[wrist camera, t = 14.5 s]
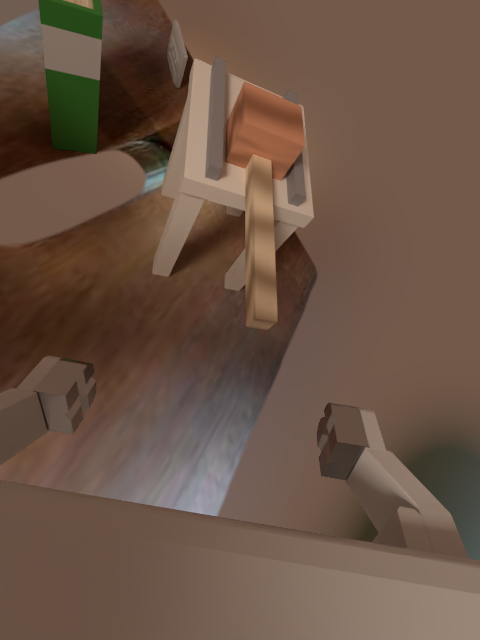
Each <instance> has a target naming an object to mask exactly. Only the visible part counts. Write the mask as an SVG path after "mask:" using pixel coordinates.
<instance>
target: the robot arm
mask: <svg viewBox="0 0 480 640" xmlns="http://www.w3.org/2000/svg"><path fill="white" fill-rule="evenodd" d="M94 372H95V371H94V366H93V364H91V363H87V362H81V361H76V360H71V359H66V358H59V357H54V356H49V355H48V356H46V357H44V358H43V359H42V360H41V361H40V362H39V363H38V364H37V366H36V367H35V368H34V369H33V370H32V371H31V372H30V373H29V375H28V376H27V377H26V378H25V379H24V380H23V381H22V382H21V383H20V385H19V386H18V387H17V388H16V389H15V388H10V389H8V390H6V391H4V392H2V393H0V465H2V464H3V463H4V462H6V461H7V460H9V459H10V458H12V457H13V456H14V455H16V454H17V453H19V452H20V451H22V450H23V449H24V448H26V447H27V446H29V445H30V444H32V443H33V442H34V441H36V440H37V439H39V438H40V437H42V436H43V435H45V434H46V433H47V432H48V431H54V432H61V433H69V434H74V433H75V431H76V429H77V428H78V426H79V424H80V423H81V421H82V419H83V414H82V412H83V411H85V410H87V409H88V408H90V406H91V404H92V403H93V401H94V398H95V394H96V387H97V386H96V381H95V380H94V379H93V378H92V375H93V373H94ZM324 412H325V417H323V418H321V419H320V422H319V425H318V430H317V445H318V447H319V448H320V450H321V451H322V452H321V454H320V456H319V463H320V471H321V476H326V477H330V478H336V479H341V480H346V482H347V484H348V486H349V487H350V489H351V490H352V492H353V493H354V495H355V497H356V498H357V500H358V501H359V503H360V504H361V506H362V507H363V509H364V510H365V512H366V514H367V515H368V517H369V518H370V519H371V521H372V523H373V524H374V526H375V527H376V529H377V530H378V532H379V534H378V535H377V537H376V538H375V539H374V540H373V542H372V543H371V542H365V541H359V540H353V539H347V538H341V537H336V536H330V535H324V534H318V533H311V532H306V531H300V530H293V529H287V528H282V527H276V526H270V525H264V524H258V523H252V522H246V521H240V520H234V519H228V518H222V517H216V516H210V515H204V514H198V513H192V512H187V511H181V510H175V509H169V508H163V507H157V506H151V505H145V504H139V503H133V502H127V501H121V500H115V499H109V498H103V497H97V496H91V495H86V494H80V493H74V492H68V491H62V490H56V489H50V488H44V487H38V486H32V485H26V484H20V483H14V482H8V481H2V480H0V640H480V561H479V560H473V559H469V558H468V555H467V553H466V551H465V548H464V546H463V543H462V541H461V538H460V536H459V534H458V531H457V528H456V526H455V524H454V521H453V519H452V516H451V514H450V513H449V512H448V511H447V510H446V509H445V508H444V507H443V506H442V504H441V503H439V501H438V500H437V499H436V498H435V497H434V496H433V495H432V494H431V493H430V492H429V491H428V490H427V489H426V488H425V487H424V486H423V485H422V484H421V483H420V481H419V480H418V479H416V477H415V476H414V475H413V474H412V473H411V472H410V471H409V470H408V469H407V468H406V467H405V466H404V465H403V464H402V463H401V462H400V461H399V460H398V459H397V458H396V456H395V455H394V454H393V453H392V452H390V451H386V448H385V445H384V441H383V438H382V435H381V432H380V428H379V426H378V422H377V419H376V416H375V413H374V411H373V410H371V409H364V408H359V407H352V406H345V405H339V404H333V403H328V404H327V405H326V407H325V410H324Z"/></svg>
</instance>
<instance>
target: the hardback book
mask: <svg viewBox="0 0 480 640" xmlns="http://www.w3.org/2000/svg"><path fill="white" fill-rule="evenodd" d="M39 9H40V19H41V30H42V40H43V51H44V61H45V71H46V82H47V92H48V103H49V113H50V123H51V134H52V144H53V148H55V149H63V150H70V151H78V152H86V153H93V154H97V132H98V110H99V88H100V65H101V43H102V20H103V15H102V8H101V2H100V0H39Z"/></svg>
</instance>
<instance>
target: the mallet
mask: <svg viewBox="0 0 480 640" xmlns="http://www.w3.org/2000/svg"><path fill="white" fill-rule="evenodd" d="M304 147H305V140H304V129H303V118H302V107H301V106H299V105H297V104H295V103H292V102H290V101H288V100H286V99H283V98H281V97H279V96H277V95H274V94H272V93H270V92H268V91H265V90H263V89H261V88H258V87H256V86H254V85H252V84H249V83H247V82H245V81H244V83H243V86H242V88H241V90H240V93H239V95H238V97H237V100H236V102H235V104H234V107H233V109H232V111H231V114H230V116H229V118H228V121H227V123H226V159H225V162H227V163H230V164H233V165H235V166H238V167H241V168H244V169H245V304H246V327H252V328H258V329H264V330H267V329H269V328H270V327H271V326H273V325H274V324H276V323H277V322H278V312H277V288H276V263H275V239H274V215H273V190H272V178H274V179H276V180H279V181H281V180H282V178H283V177H284V175H285V174H286V173H287V171H288V170H289V168H290V167H291V166H292V164H293V163H294V161H295V160H296V159H297V157H298V156H299V154H300V153H301V151H302V150H303V149H304Z"/></svg>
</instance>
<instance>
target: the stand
mask: <svg viewBox="0 0 480 640" xmlns="http://www.w3.org/2000/svg"><path fill="white" fill-rule="evenodd" d="M225 68H226V61H225V60H224V59H221V58H219V57H217V56H215V59H214V63H213V65H212V66H211V65H209V64H207V63H204V62H202V61H200V60H198V59H196V58H194V61H193V65H192V68H191V72H190V77H189V88H188V97H187V100H186V104H185V107H184V111H183V114H182V118H181V121H180V125H179V128H178V132H177V135H176V138H175V142H174V145H173V149H172V152H171V156H170V159H169V163H168V166H167V170H166V173H165V177H164V180H163V184H162V192H161V195H162V196H166V197H169V198H173V199H175V200H174V203H173V206H172V209H171V212H170V214H169V217H168V220H167V223H166V226H165V229H164V231H163V234H162V237H161V240H160V243H159V246H158V248H157V251H156V254H155V257H154V260H153V269H152V274H156V275H161V276H166V277H169V275H170V273H171V271H172V269H173V266H174V264H175V262H176V260H177V258H178V256H179V254H180V251H181V249H182V247H183V245H184V243H185V241H186V239H187V237H188V234H189V232H190V230H191V228H192V226H193V224H194V222H195V219H196V217H197V215H198V213H199V211H200V209H201V207H202V205H203V202H204V200H205V199H206V200H209V201H213V202H216V203H219V204H223V205H226V206H227V213H226V214H229V215H233V216H236V217H240V216H241V214H242V212H243V211H245V169H244V168H241V167H238V166H235V165H233V164H230V163H227V162H225V159H226V123H227V121H228V118H229V116H230V114H231V111H232V109H233V107H234V104H235V102H236V100H237V97H238V95H239V93H240V90H241V88H242V86H243V83H244V81H245V80H243V79H241V78H238V77H236V76H234V75H232V74H229V73H227V72H225ZM245 82H247V81H245ZM247 83H249V82H247ZM249 84H252V83H249ZM252 85H254V84H252ZM254 86H256V85H254ZM256 87H258V86H256ZM258 88H261V87H258ZM261 89H263V88H261ZM263 90H265V89H263ZM265 91H268V90H265ZM268 92H270V91H268ZM270 93H272V92H270ZM272 94H274V95H277V94H275V93H272ZM277 96H279V95H277ZM279 97H281V96H279ZM281 98H283V99H286V100H288V101H290V102H292V103H295V104H297V105H299V104H298V101H297V93H296V92H294V91H292V90H289V89H288V90H287V92H286V94H285V96H284V97H281ZM299 106H301V107H302V118H303V129H304V140H305V147H304V149H303V150H302V151H301V153H300V154H299V156H298V157H297V159H296V160H295V161H294V163H293V164H292V166H291V167H290V168H289V170H288V171H287V173H286V174H285V175H284V177H283V178H282V180H281V181H279V180H276V179H274V178H272V190H273V215H274V239H275V251H276V250H277V249H278V248H279V247H280V246H281V245H282V244H283V243H284V242H285V241H286V240H287V238H288V237H289V236H290V235H291V234H292V233H293V232H294V231H295V230H296V229H297V228H298V227H301V228H304V227H305V226H306V225H307V224H308V223H309V222H310V221H311V220H312V219H313V218H314V214H313V203H312V193H311V182H310V173H309V162H308V151H307V141H306V131H305V120H304V111H303V106H302V105H299ZM244 285H245V249H244V251H243V252H242V253H241V255H240V256H239V257H238V259H237V260H236V261H235V262H234V264H233V265H232V266H231V268H230V269H229V270H228V272H227V273H226V274H225V288H226V289H231V290H236V291H239V290H240V289H241V288H242V287H243V286H244Z"/></svg>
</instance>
